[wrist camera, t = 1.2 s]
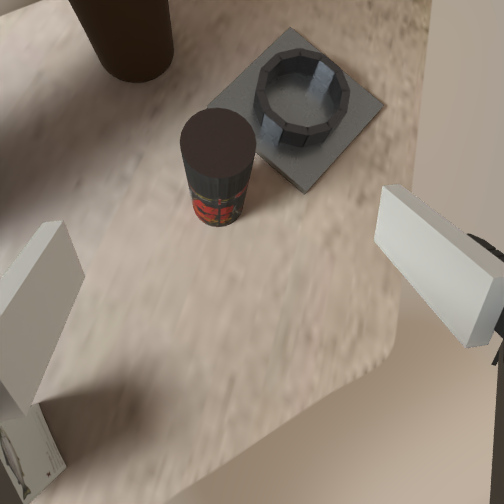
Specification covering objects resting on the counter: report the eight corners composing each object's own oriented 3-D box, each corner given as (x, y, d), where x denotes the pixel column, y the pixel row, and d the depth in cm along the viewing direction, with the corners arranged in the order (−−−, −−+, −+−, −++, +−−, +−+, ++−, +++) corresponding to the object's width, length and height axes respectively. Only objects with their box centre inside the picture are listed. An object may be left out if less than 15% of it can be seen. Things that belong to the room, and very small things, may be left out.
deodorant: (183, 193, 42) (165, 127, 27) (227, 171, 43) (232, 95, 28) (208, 235, 41) (204, 191, 27) (252, 211, 42) (270, 156, 28)
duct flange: (207, 110, 44) (206, 90, 40) (288, 32, 47) (295, 7, 43) (304, 194, 43) (313, 182, 40) (380, 109, 47) (395, 90, 43)
